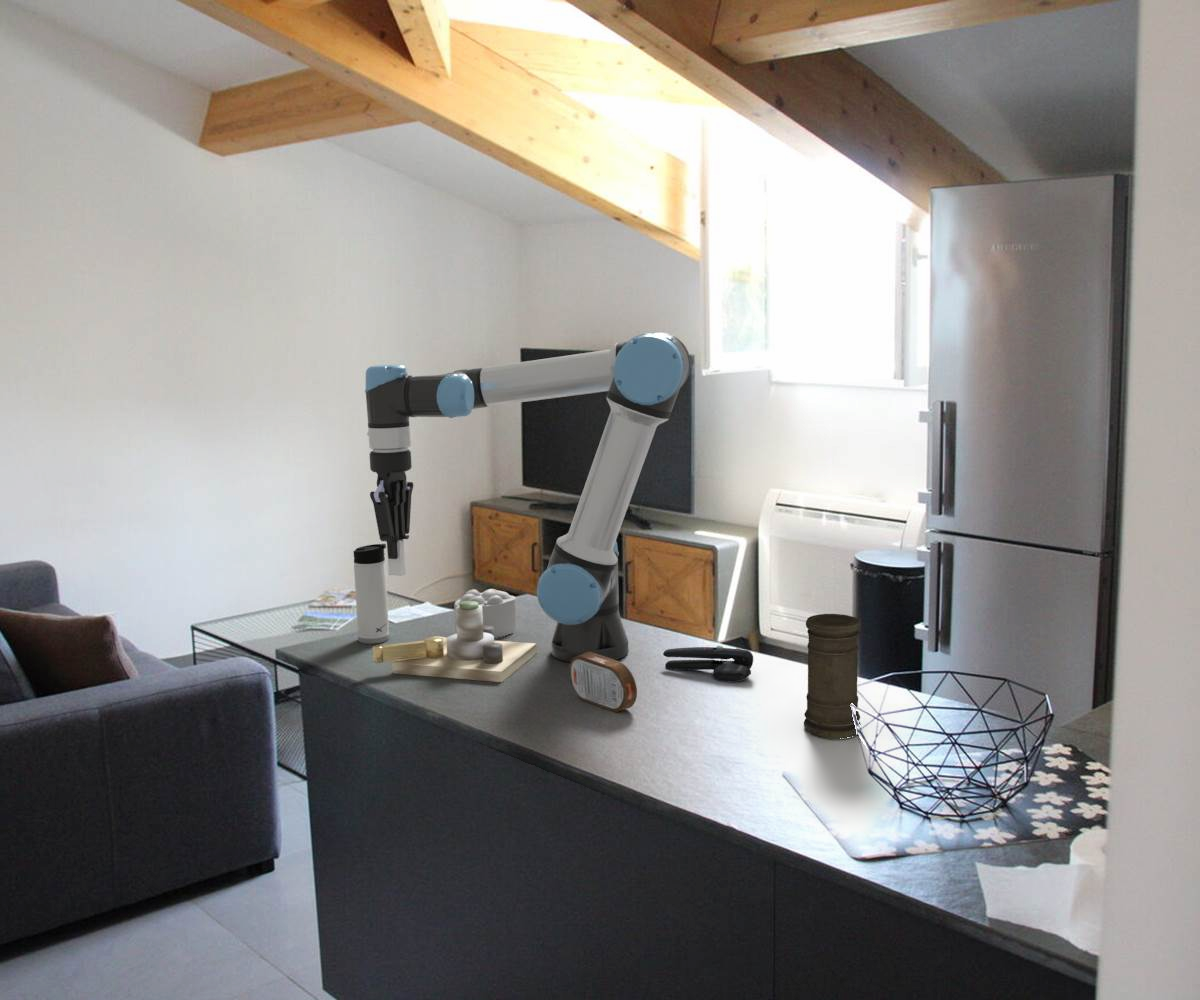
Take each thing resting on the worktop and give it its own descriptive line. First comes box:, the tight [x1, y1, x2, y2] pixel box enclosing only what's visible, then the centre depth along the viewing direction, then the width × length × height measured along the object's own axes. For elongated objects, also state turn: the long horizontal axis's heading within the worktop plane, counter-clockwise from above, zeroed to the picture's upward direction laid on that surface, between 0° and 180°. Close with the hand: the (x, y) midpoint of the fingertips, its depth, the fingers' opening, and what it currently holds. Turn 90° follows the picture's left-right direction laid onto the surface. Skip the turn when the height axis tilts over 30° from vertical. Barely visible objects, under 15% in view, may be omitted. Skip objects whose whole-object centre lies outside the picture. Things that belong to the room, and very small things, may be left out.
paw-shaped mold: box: [453, 588, 518, 639], centre depth 242 cm, size 10×13×9 cm
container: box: [803, 613, 862, 740], centre depth 183 cm, size 9×9×18 cm
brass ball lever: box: [372, 636, 444, 664], centre depth 219 cm, size 13×4×3 cm, turn 110°
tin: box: [568, 652, 638, 713], centre depth 198 cm, size 15×3×8 cm, turn 41°
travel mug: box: [353, 543, 390, 645], centre depth 238 cm, size 6×7×20 cm
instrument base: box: [391, 601, 538, 683], centre depth 222 cm, size 22×18×12 cm
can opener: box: [662, 645, 754, 683], centre depth 214 cm, size 18×7×6 cm, turn 60°
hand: (397, 574), depth 218 cm, fingers closed
